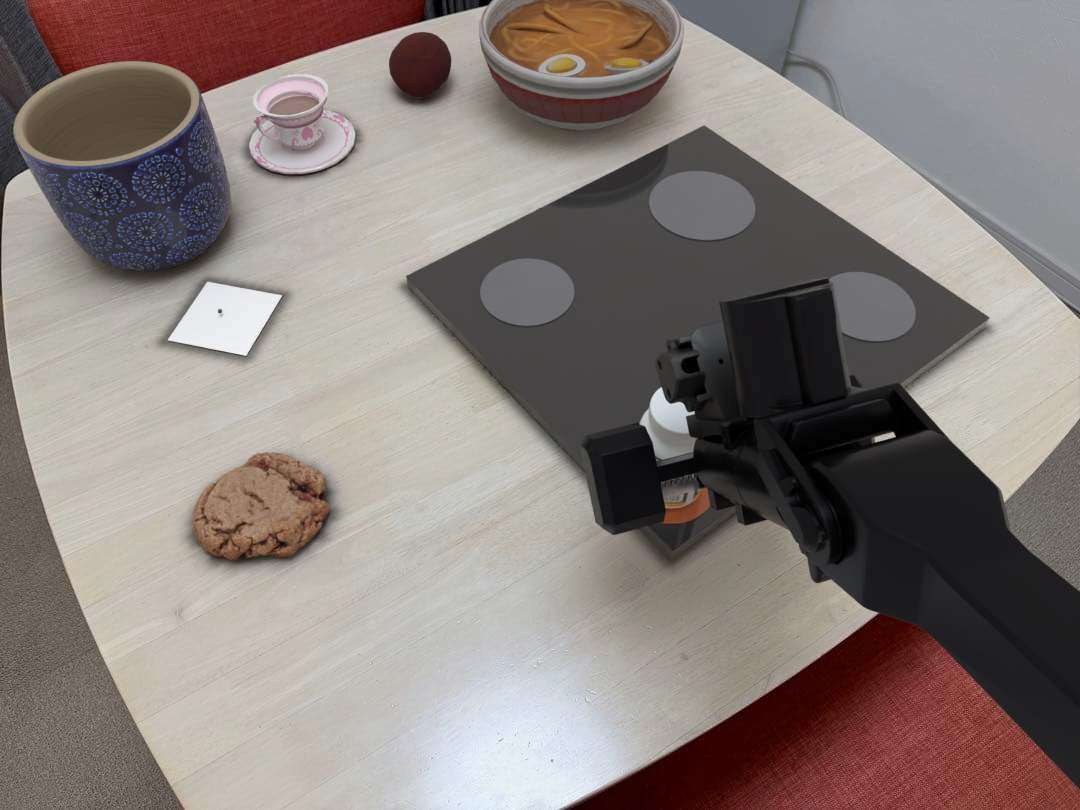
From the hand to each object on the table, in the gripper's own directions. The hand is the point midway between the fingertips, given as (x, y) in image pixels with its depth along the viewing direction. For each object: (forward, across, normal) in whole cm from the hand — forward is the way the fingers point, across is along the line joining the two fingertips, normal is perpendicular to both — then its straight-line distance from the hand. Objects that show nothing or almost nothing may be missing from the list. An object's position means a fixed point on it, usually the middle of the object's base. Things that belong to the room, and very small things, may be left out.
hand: (683, 434), depth 65 cm
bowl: (+46, -10, -33) cm, 57 cm away
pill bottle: (+6, 0, +5) cm, 8 cm away
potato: (+52, +7, -39) cm, 65 cm away
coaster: (+29, +33, -16) cm, 46 cm away
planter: (+39, +38, -26) cm, 60 cm away
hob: (+21, -10, -8) cm, 24 cm away
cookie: (+13, +32, +1) cm, 34 cm away
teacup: (+47, +22, -34) cm, 62 cm away
